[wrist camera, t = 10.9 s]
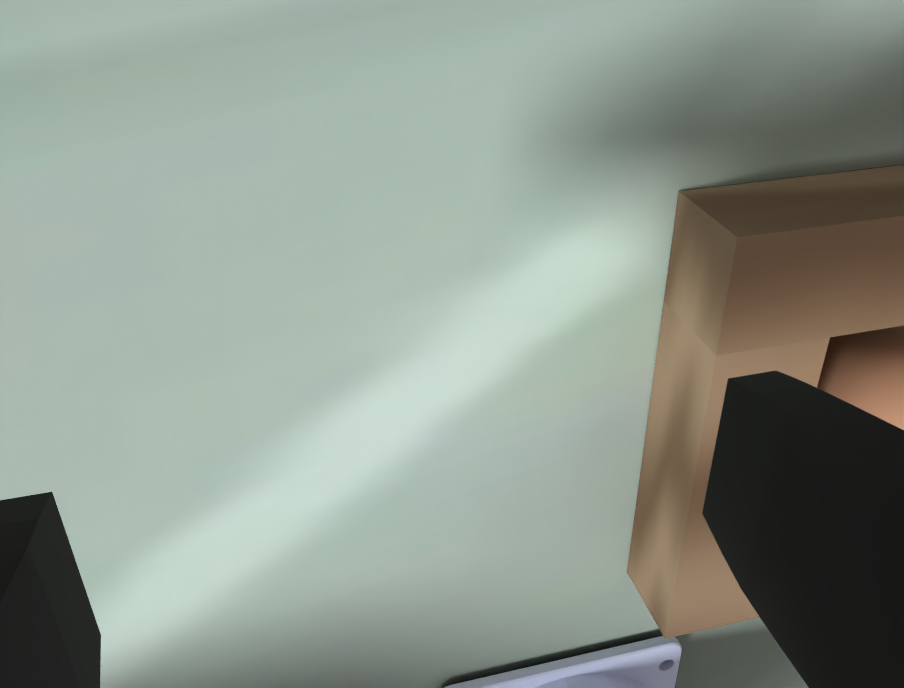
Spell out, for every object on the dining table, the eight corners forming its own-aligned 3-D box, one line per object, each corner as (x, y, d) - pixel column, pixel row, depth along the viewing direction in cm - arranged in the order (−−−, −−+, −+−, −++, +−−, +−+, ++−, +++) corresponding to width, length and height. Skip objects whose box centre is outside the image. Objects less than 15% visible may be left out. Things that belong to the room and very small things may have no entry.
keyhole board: (969, 499, 28) (1030, 554, 26) (626, 572, 26) (665, 639, 24) (1115, 140, 22) (1211, 175, 20) (679, 191, 19) (737, 237, 17)
